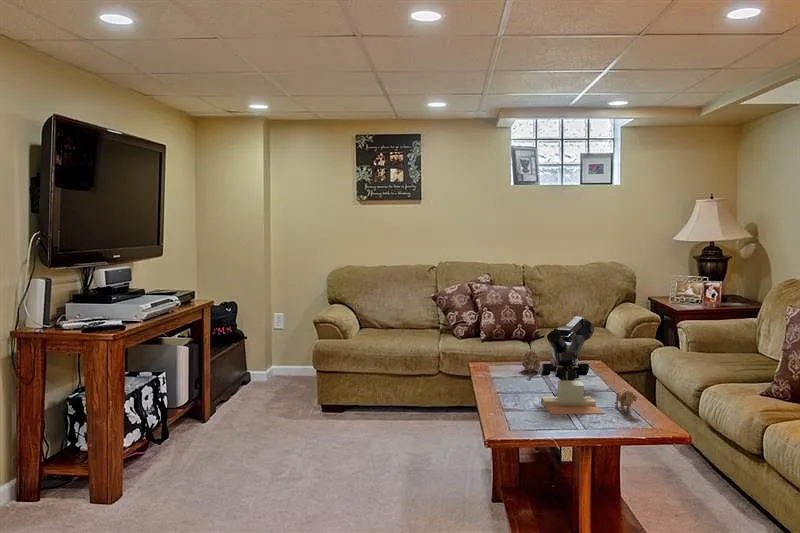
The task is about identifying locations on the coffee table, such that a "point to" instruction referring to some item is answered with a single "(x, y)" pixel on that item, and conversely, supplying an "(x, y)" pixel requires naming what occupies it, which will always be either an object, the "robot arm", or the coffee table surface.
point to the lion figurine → (625, 400)
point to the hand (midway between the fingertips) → (568, 387)
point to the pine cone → (530, 361)
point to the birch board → (555, 402)
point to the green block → (570, 392)
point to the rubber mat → (574, 410)
